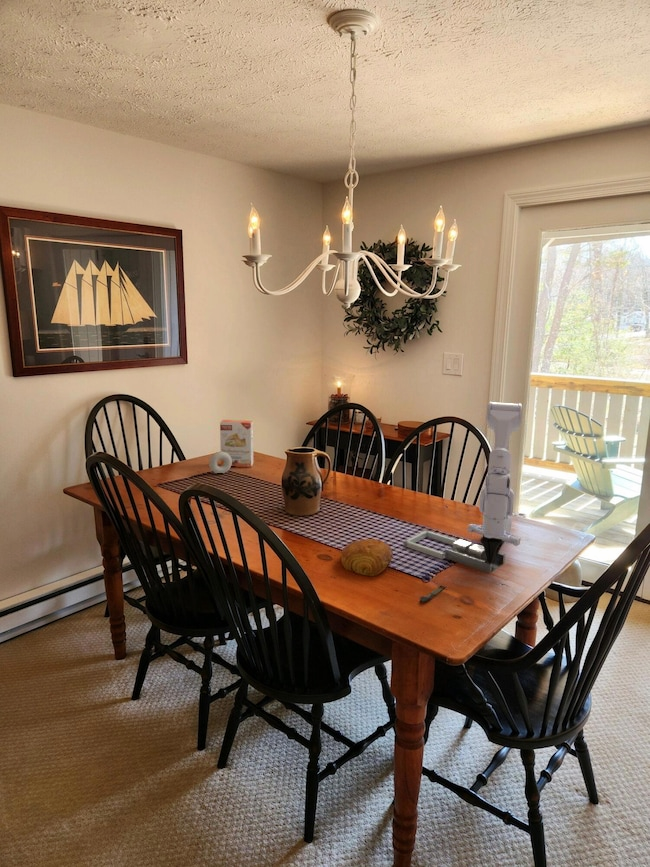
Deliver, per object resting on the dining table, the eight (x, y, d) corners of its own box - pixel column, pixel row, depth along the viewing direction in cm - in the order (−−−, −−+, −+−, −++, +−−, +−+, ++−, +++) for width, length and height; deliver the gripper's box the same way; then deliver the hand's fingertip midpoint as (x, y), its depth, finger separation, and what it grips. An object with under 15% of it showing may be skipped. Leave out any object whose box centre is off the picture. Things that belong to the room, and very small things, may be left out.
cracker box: (220, 467, 254) (219, 421, 249) (223, 463, 259) (222, 419, 255) (251, 468, 253) (250, 422, 248) (253, 464, 259) (253, 420, 254)
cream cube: (474, 556, 163) (475, 543, 162) (487, 560, 160) (488, 547, 159) (467, 561, 160) (468, 547, 159) (480, 565, 157) (481, 552, 156)
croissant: (397, 566, 163) (400, 539, 163) (381, 581, 149) (384, 552, 148) (351, 555, 169) (353, 529, 168) (331, 569, 155) (333, 541, 154)
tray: (425, 537, 178) (426, 530, 178) (462, 549, 170) (463, 541, 169) (403, 548, 170) (404, 541, 169) (441, 562, 161) (442, 554, 160)
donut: (210, 476, 240) (210, 453, 237) (208, 474, 243) (207, 451, 240) (233, 473, 244) (232, 451, 242) (230, 471, 247) (230, 449, 245)
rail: (460, 551, 169) (460, 540, 168) (504, 565, 159) (505, 554, 159) (444, 560, 162) (445, 549, 161) (489, 576, 153) (490, 564, 152)
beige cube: (459, 551, 166) (459, 538, 165) (471, 555, 163) (472, 542, 162) (452, 555, 163) (452, 542, 162) (464, 559, 160) (465, 546, 160)
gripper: (463, 513, 156) (460, 558, 159) (514, 527, 146) (509, 575, 149) (476, 506, 161) (472, 551, 164) (525, 520, 151) (520, 566, 154)
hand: (491, 562), depth 157 cm, fingers closed
